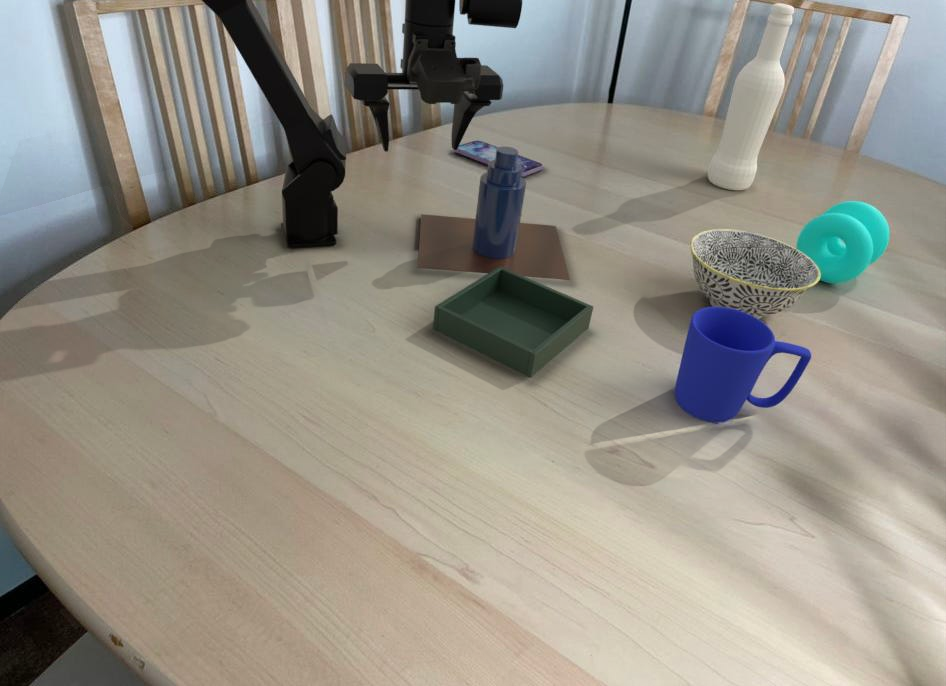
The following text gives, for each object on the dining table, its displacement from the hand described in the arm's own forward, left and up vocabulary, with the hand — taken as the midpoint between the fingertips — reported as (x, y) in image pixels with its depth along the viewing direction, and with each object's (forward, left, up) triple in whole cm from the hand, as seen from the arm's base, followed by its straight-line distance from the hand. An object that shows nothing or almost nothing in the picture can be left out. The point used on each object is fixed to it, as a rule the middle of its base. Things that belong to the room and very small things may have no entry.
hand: (420, 149), depth 96 cm
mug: (+22, -42, -13) cm, 49 cm away
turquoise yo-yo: (+58, -18, -13) cm, 62 cm away
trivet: (+10, -4, -13) cm, 17 cm away
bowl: (+37, -24, -13) cm, 46 cm away
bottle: (+63, +14, -13) cm, 66 cm away
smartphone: (+23, +27, -13) cm, 38 cm away
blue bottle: (+10, -5, -12) cm, 17 cm away
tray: (+5, -24, -13) cm, 28 cm away
